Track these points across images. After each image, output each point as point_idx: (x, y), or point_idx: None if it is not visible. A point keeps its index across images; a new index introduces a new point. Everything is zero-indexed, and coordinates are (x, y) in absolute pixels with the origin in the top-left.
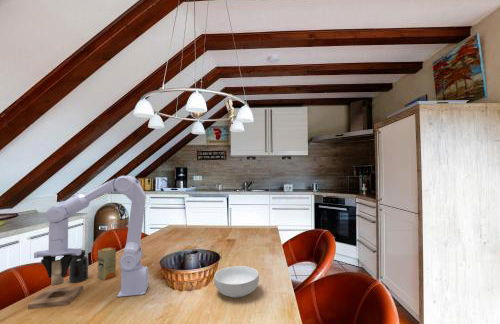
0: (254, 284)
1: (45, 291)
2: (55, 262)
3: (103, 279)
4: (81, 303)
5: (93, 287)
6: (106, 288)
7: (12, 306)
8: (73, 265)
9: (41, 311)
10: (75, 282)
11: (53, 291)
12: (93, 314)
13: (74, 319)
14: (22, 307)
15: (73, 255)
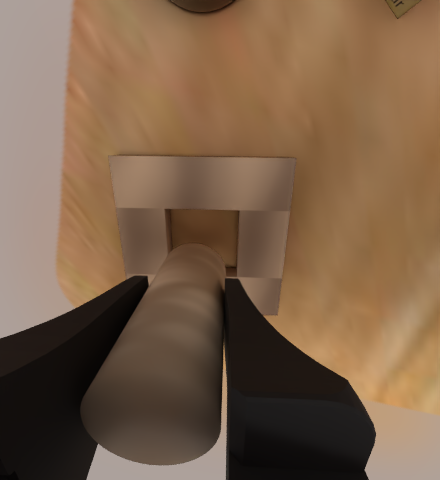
0: None
1: (117, 192)
2: (155, 461)
3: (396, 6)
4: (322, 303)
5: (342, 137)
6: (415, 172)
7: (59, 264)
8: None
9: None
10: (203, 10)
11: (161, 203)
12: (378, 380)
13: None
14: (106, 281)
15: (365, 451)
